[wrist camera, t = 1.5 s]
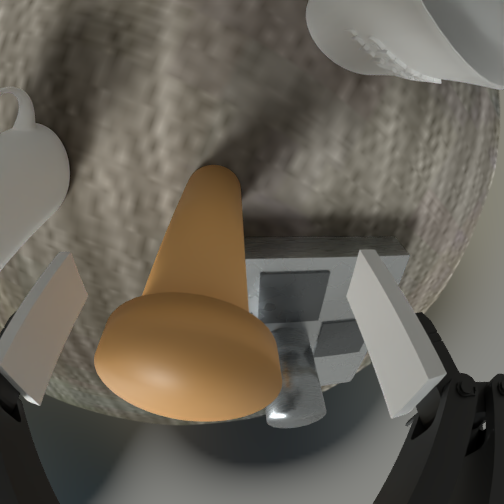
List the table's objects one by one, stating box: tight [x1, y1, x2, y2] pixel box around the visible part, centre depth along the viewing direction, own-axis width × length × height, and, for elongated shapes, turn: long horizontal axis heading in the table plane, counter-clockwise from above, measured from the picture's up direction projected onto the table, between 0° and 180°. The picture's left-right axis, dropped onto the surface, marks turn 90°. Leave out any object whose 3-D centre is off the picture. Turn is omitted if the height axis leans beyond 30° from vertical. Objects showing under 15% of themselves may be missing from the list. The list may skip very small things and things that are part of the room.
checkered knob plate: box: [244, 237, 410, 428], centre depth 23 cm, size 20×20×11 cm
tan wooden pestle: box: [94, 165, 282, 421], centre depth 13 cm, size 6×6×15 cm
